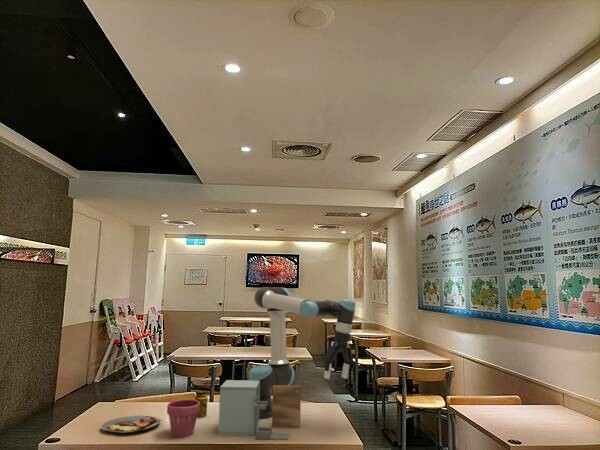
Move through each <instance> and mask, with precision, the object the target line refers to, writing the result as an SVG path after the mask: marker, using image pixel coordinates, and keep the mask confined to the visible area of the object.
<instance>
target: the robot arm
mask: <svg viewBox="0 0 600 450" xmlns="http://www.w3.org/2000/svg"><path fill="white" fill-rule="evenodd" d="M253 298H254V303H255V305H256V306H257V307H259V308H261V309H266V313H268V314H269V327H270V328H269V330H270V331H269V333H270V336H269V337H270V338H269V339H270V361H268V362H267V363H268V364H262V365H256V366H253V367H251V368H250V370H249V373H248V374H249V375H248V381H260V400H259V401H268V405H266V409H259V420H260V419H261V420H262V419H268V418H272V407H273V399H272V392H273V385H293V382H294V381H295V380H294V379H295V370H294V368H293V366H292V365H291V364H290V361H289V360H288V356H287V329H286V314H287V313H288V312H289V313H293V314H298V315H301V316H303V317H305V318H321V317H324V318H325V317H331V318H332V317H333V318H336V323H335V324H336V325H335V331H334V336H333V339H334V341H332V340H331V341H330V342H329V347H328V348H327V350H326V352H325V355H324V357H323V359H322V361H323V363H325V366H324V374H323V378H325V379H327V380H330V378H331V370H332V365H333V364H332V362H333V361H334V359H335V358H336V356H337V355H338V354H340V353H341V354H342V358H343V360H344V363H343V366H342V371H341V378H342V379H346V380H347V379H348V375H349V368H350V366H351V365H352V364H353V363H354V360H353V353H352V352H353V351H352V345H353V344H352V343H350V342H351V341H350V340H351V336H352V334H351V333H352V328H353V321H354V316H355V311H356V302H355V300H350V299H345V298H341V299H340V301H339V302H338V301H333V300H330V299H321V300H310V299H305V298H301V297H295V296H292V294H291V292H290V290H288V289H287V288H285V287H280V286H277V287H275V286H273V287H272V286H262V287H260V288H259V289H257V291H255V293H254V296H253Z"/></svg>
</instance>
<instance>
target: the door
mask: <svg viewBox="0 0 600 450" xmlns="http://www.w3.org/2000/svg"><path fill="white" fill-rule="evenodd" d="M301 387H302V386H301V385H293V384H291V385H273V391H272V403H273V407H272V417H271V418H272V419H271V420H272V421H271V427H272V428H287V429H288V428H294V429H300V428H301V396H302V395H301V390H302V389H301Z"/></svg>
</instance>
